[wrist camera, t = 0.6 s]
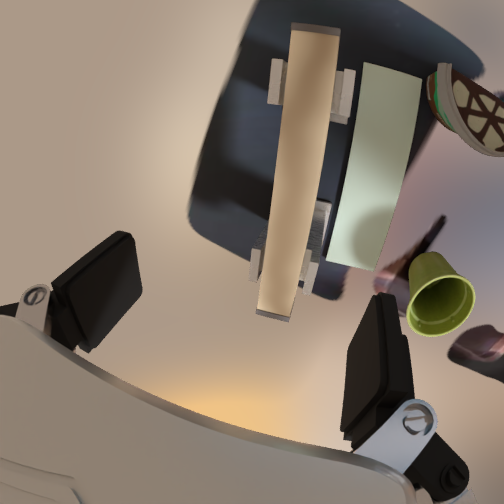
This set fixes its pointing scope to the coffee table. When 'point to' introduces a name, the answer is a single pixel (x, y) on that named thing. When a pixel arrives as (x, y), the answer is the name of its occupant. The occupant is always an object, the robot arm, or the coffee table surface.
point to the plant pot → (437, 296)
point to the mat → (375, 165)
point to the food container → (467, 110)
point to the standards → (322, 208)
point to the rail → (298, 163)
